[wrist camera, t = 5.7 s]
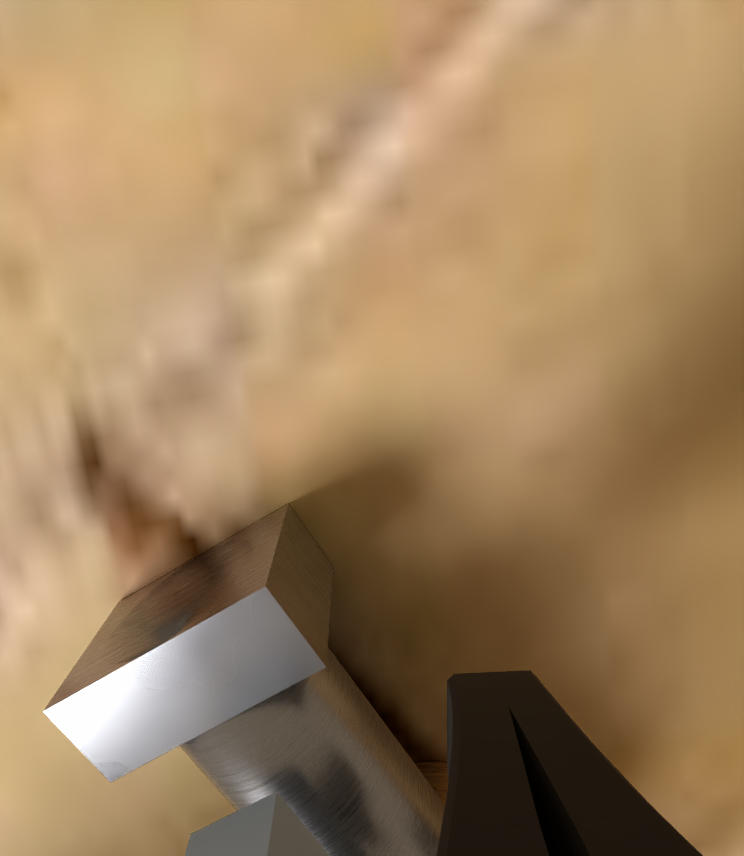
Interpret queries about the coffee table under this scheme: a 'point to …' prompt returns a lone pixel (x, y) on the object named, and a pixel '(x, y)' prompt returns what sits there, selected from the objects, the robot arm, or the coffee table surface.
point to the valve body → (252, 695)
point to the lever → (257, 833)
